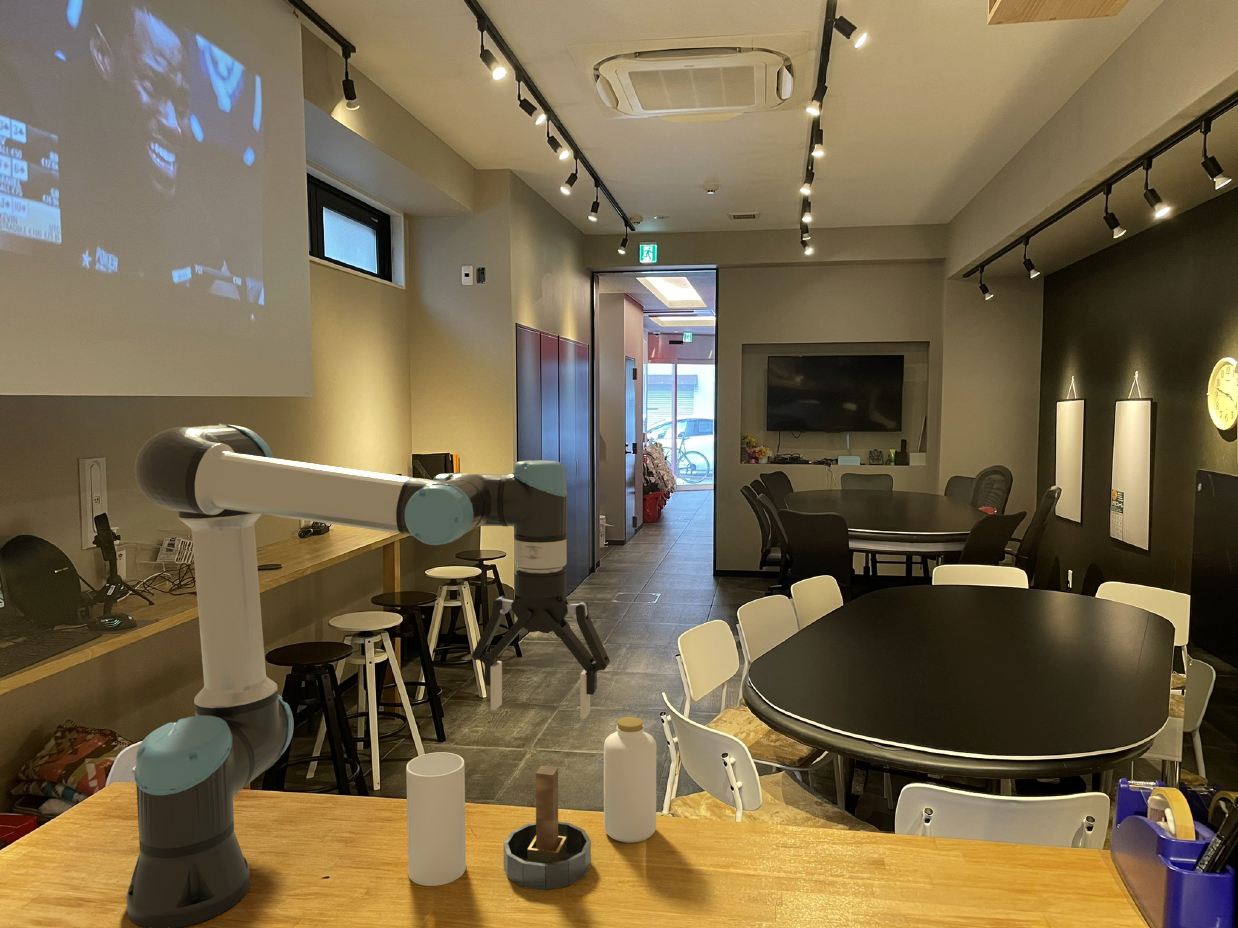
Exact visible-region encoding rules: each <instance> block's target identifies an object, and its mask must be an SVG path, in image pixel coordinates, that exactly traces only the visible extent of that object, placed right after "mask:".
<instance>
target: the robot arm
mask: <svg viewBox="0 0 1238 928" xmlns="http://www.w3.org/2000/svg"><path fill="white" fill-rule="evenodd" d="M513 467H514V468H513V471H512V473H509V474H487V473H463V472H454V473H439V474H436V476H434V477H433V479H427V478H420V477H419V478H417V477H411V476H404V475H397V474H390V473H389V474H388V473H383V472H375V471H368V470H367V471H366V470H359V469H354V468H344V467H337V466H331V465H325V464H316V463H311V462H310V463H309V462H303V461H295V460H287V459H281V458H274V455H273V453H272V450H271V448H270V446H269V445H268V443H267V442H266V441H265V440H264V439H263V438H262V437H261V436H260V435H259V434H257V433H256V432H255V431H253V430H252V429H250V428H248V427H243V426H239V425H233V424H222V423H218V424H210V425H200V426H199V425H197V426H178V427H177V426H176V427H172V428H168V429H167V428H166V429H165V430H163V431H162V430H161V431H160V432H157V433H156V434H154V435H153V436H151V437H150V438H149V439H147V440H146V441H145V443H143V445H142V447H140V448H139V450H138V453H137V454H136V457H135V462H134V477H135V482H136V484H137V487H138V489H139V490H140V491H141V493H142V494H143V496H144V497H145V498H146V499H147V500H149V502H151V503H152V504H154V505H155V506H158V507H160V508H161V509H166V510H168V511H174V512H178V519H179V521H180V522H182V523H183V524H185V525H186V526H187V527H188V528H189V529H190V530H191V536H192V537H191V538H192V539H191V540H192V551H193V553H192V554H193V564H194V575H195V586H196V587H195V588H196V589H195V590H196V599H197V611H198V623H199V635H200V636H199V637H200V648H201V661H202V672H203V684H204V685H203V688H202V689H201V690H200V691H199V692H198V693H197V694H196V695H195V697H194V698H193V699H194V715H195V716H194V715H193V716H188V717H182V718H179V719H178V720H177V721H175V722H167V723H165V724H164V725H161V726H160V727H158V728H156V729H154V730H153V731H151V732H150V733H149V734H148V735H147V736H145V738H143V740H142V741H141V743H140V744H139V745H138V748H137V750H136V757H135V759H136V761H135V767H134V780H135V784H136V800H137V801H136V802H137V805H136V806H137V823H138V843H139V844H138V845H139V853H138V857H137V859H136V864H135V865H134V866H135V867H134V870H133V874H132V876H131V878H130V879H131V880H130V884H129V886H128V890H127V893H126V910H127V911H126V913H127V917H128V918H129V919H130V921H131V922H132V923H134V924H135V925H138V926H140V927H143V928H182V927H183V928H184V927H187V926H191V925H195V924H198V923H202V922H204V921H208V920H210V919H212V918H214V917H217V916H218V915H220V914H223V913H224V912H226V911H228V910H229V909H231V908H232V907H233V906H235V905H236V904H237V903H239V902H240V901H241V899H243V898H244V896H245V895H246V894H247V892H248V890H249V888H250V885H251V884H250V883H251V881H250V880H251V879H250V877H251V876H250V867H249V863H248V861H247V859H246V858H245V857H244V854H243V851H242V849H241V846H240V843H239V841H238V838H237V836H236V833H235V819H234V818H235V815H234V797H235V796H236V795H237V794H239V792H240V791H242V790H243V789H244V788H245V787H246V786H247V785H249V784H250V783H251V782H253V781H254V780H255V779H256V778H257V777H259V776H260V775H261V774H262V773H264V772H265V771H267V770H269V769H270V768H271V767H272V766H274V764H275V763H276V762H278V760H279V759H280V758H281V756H282V755H283V754H284V753H285V752H286V750H287V748H288V747H289V745H290V743H291V740H292V738H293V733H294V726H295V725H294V717H293V712H292V710H291V708H290V705H289V704H288V703H287V702H285V701H284V700H283V697H282V696H281V695H280V694H279V689H278V688H279V687H278V683H276V682H275V681H273V679H272V678H271V679H270V678H269V677H268V676H267V675H266V674H267V673H266V672H267V671H266V660H265V648H264V636H263V635H264V633H263V632H264V631H263V621H262V620H263V619H262V608H261V595H260V593H261V592H260V583H259V570H258V554H257V543H256V541H257V540H256V530H255V524H256V522H257V520H259V518H260V517H261V516H262V515H263V516H264V515H265V516H272V517H279V518H285V519H292V520H293V519H294V520H301V521H310V522H315V523H316V522H317V523H321V524H329V525H337V526H345V527H349V528H358V529H366V530H372V531H380V532H385V533H386V532H388V533H394V534H401V535H406V536H412V537H414V538H415V539H416V540H417V541H419V542H420V543H423V544H425V545H429V546H430V545H431V546H439V545H447V544H450V543H453V542H455V541H457V540H459V539H460V538H462V536H464V535H466V534H467V533H468V532H470V531H472V530H474V529H476V528H477V527H513V530H514V531H513V532H514V534H513V536H514V539H513V541H514V546H513V547H514V548H513V549H514V551H513V552H514V554H513V555H514V561H513V562H514V565H515V567H517V568H516V569H515V571H514V573H513V575H514V577H513V578H514V579H513V588H514V589H513V594H514V598H513V600H512V599H508V598H506V596H505V595H501V596H499V597H498V598H496V599H495V600H494V601H493V603H492V608H491V609H492V610H491V611H492V612H491V615H490V618H488V619H489V620H488V622H487V623H486V626H485V627H484V629H483V632H482V634H481V636H480V637H479V639H478V642H477V643H476V646H475V648H474V650H473V652H472V654H471V657H472V659H473V660H474V661H480V662H482V663H483V665H484V683H485V686H490V711H496V710H497V709H498V708H500V706H502V705H503V661H501V660H497V659H498V658H499V657H500V655H501V654H502V653H503V652H505V650H506V649H507V648H508V646H510V644H511V643H512V642H513V641H514V639H515V638H516V637H517V636H518V635H519V634H520V633H521V631H522V630H523V629H525V631H527V632H528V633H535V632H539V633H542V634H550V633H551V632H553V633H554V635H555V636H556V637H558V638H559V639H560V640H561V641H562V643H563V644H564V645H565V646H566V648H567V649H568V650H569V652H570V653H571V654H572V655H573V657H574V658H575V660H576V661H577V662H578V663H579V664H580V666H581V667H582V668H583V670H582V671H581V673H580V675H579V677H580V678H579V679H580V681H579V682H580V684H579V685H580V687H579V692H580V694H579V697H580V698H579V699H580V700H579V701H580V702H579V708H580V709H579V710H580V711H579V713H580V714H579V718H580V719H584V720H585V719H586V718H587V717H588V715H589V714H590V713H591V695H592V696H593V695H595V693H596V691H597V689H598V671H604V670H606V668H607V667H608V666H609V664H610V663H611V661H610V657H609V656H608V654H607V651H606V649H605V647H604V645H603V643H602V641H601V638H600V637H599V635H598V632H597V630H596V628H595V626H594V624H593V621H592V619H591V617H590V612H589V603H588V602H587V601H584V600H582V601H581V602H580V603H569V602H568V600H567V570H566V569H565V568H564V567H565V566H566V565H567V559H568V557H567V516H568V510H567V509H568V491H567V471H566V467H565V465H564V464H563V463H562V462H560V461H557V460H542V459H541V460H520V461H517V462H516V463H515V464H514V466H513ZM510 610H512V612H513V614H514V615H515V617H516V618H517V620H516V621H515V622H514V624H512V625H511V627H510V628H509V629H508V630H507V632H506V633H505V634H504V635H503V636H502V637H501V639H500V640H499V641H498V642H497V643H496V644H495V646H494V647H493V648H492V649H491V650H490V651H488V649H489V647H490V645H491V643H492V640H493V639H494V638H495V635H496V633H497V630H498V628H499V626H500V625H501V623H502V621H503V619H504V616H505V614H507V613H508V612H510ZM568 614H571V617H572V618H573V619H574V620H576V621H577V622H576V623H577V625H578V627H579V630H580V632H581V634H582V637H583V638H584V640H585V643H586V645H587V647H588V649H589V650H588V649H587V648H586V646H585V645H584V644H583V643H582V641H581V640H580V639H579V637H578V636H577V635H576V633H575V632H574V631H573V630H572V628H571V625H570V623H569V622H568V621H567V620H566V619H565V617H566V616H567V615H568Z"/></svg>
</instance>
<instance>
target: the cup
mask: <svg viewBox="0 0 1238 928" xmlns="http://www.w3.org/2000/svg"><path fill="white" fill-rule="evenodd" d="M465 772H466V771H465V760H464V758H463V756H461V755H459V754H456V753H452V752H445V751H444V752H441V751H440V752H439V751H438V752H437V751H436V752H430V753H424V754H421V755H418V756H417V757H414V758H412V759H411V760H409V761H408V762H407V764H406V773H405V775H406V815H407V816H406V817H407V818H406V819H407V821H406V822H407V860H408V861H407V863H408V864H407V865H408V866H407V868H408V869H407V870H408V873H407V874H408V877H409V879H410V880H411V881H412V882H413V883H415V884H418V885H421V886H427V887H437V886H442V885H447V884H450V883H452V882H455V881H457V880H458V879H459V878H461V877H462V876H463V874H464V873H465V872H466V869H467V856H466V855H467V854H466V853H467V852H466V850H467V845H466V844H467V843H466V839H467V838H466V786H465V785H466V784H465V783H466V782H465V781H466V780H465Z"/></svg>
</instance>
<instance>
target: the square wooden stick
mask: <svg viewBox="0 0 1238 928" xmlns="http://www.w3.org/2000/svg"><path fill="white" fill-rule="evenodd" d="M558 822H559V767H556V766H547V765H540V766H539V768H538V770H537V771H536V772H535V823H536V849H543V850H551V851H556V850H557V848H558Z"/></svg>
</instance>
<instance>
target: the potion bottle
mask: <svg viewBox="0 0 1238 928" xmlns="http://www.w3.org/2000/svg"><path fill="white" fill-rule="evenodd" d="M616 723H617V725H616V731H615V732H613V733H611V734H609V735H608V736H607V737H606V739H605V740H604V743H603V744H604V745H603V828H604V831H605V833H606V834H607V835H608V836H609V837H610V838H611V839H613V840H615V841H617V842H622V843H633V844H634V843H639V842H643V841H646V840H647V839H649V838H651V837H652V836H653V834H655V832H656V829H657V741H656V740H655V738H654V737H653V735H652V734H649V733H647V732H645V731H644V729H645V726H644V721H643V720H642V719H641V718H639V717H634V716H625V717H621V718H619V719H618V720H617V722H616Z"/></svg>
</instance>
